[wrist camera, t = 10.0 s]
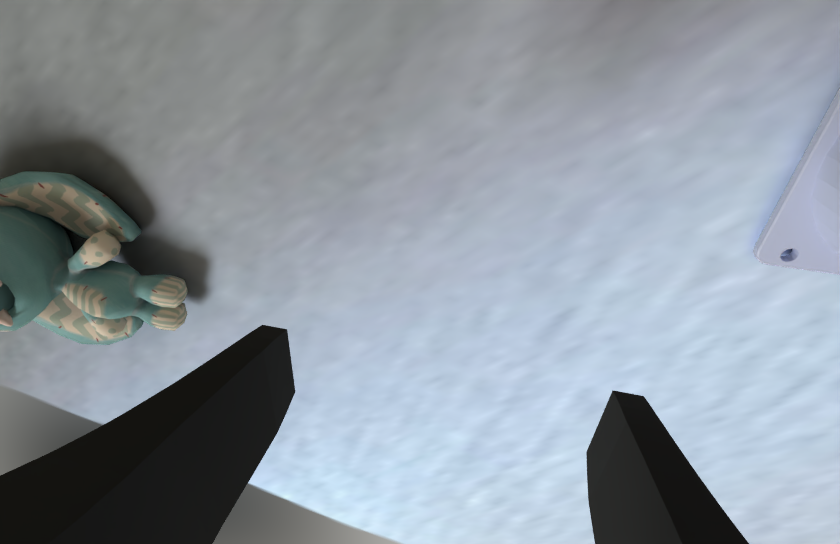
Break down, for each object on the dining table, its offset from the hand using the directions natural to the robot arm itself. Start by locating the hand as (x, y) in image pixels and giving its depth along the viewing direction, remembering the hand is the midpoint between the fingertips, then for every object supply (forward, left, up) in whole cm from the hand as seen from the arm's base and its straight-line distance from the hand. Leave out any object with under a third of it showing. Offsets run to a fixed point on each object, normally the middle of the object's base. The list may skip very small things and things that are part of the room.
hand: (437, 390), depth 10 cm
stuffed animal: (+20, +5, -10) cm, 22 cm away
